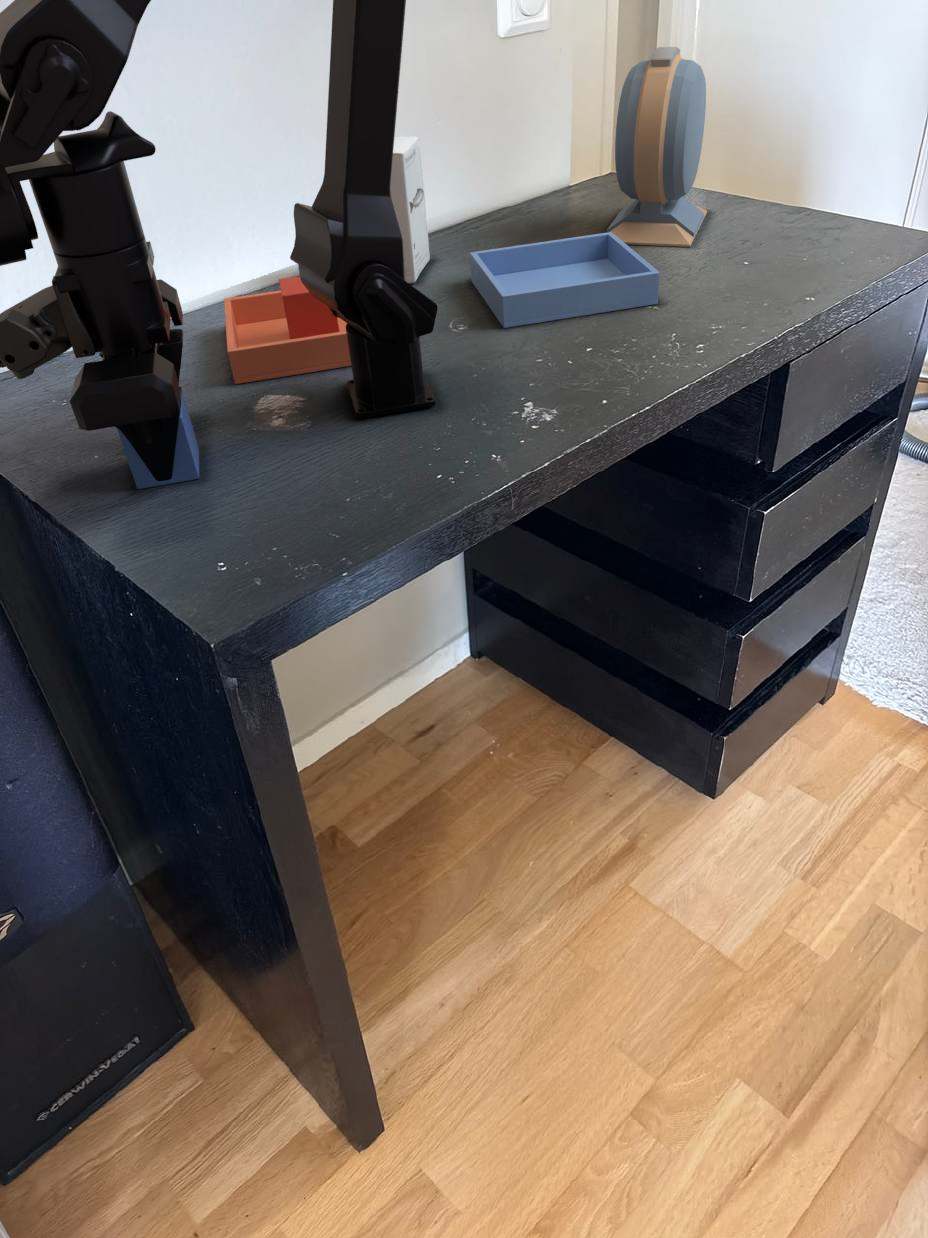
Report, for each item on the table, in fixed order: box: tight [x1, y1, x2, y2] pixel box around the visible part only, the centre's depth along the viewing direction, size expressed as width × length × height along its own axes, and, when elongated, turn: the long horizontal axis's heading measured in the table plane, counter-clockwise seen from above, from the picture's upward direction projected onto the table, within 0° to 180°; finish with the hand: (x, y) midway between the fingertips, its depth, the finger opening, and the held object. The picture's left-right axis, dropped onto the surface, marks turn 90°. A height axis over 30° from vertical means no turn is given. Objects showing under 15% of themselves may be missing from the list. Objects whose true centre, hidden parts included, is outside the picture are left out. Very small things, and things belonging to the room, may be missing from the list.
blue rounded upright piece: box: [605, 46, 708, 248], centre depth 100 cm, size 14×10×18 cm
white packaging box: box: [390, 135, 431, 284], centre depth 96 cm, size 7×7×13 cm
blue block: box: [116, 391, 200, 490], centre depth 68 cm, size 4×4×5 cm
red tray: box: [223, 290, 351, 385], centre depth 86 cm, size 13×15×3 cm
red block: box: [278, 275, 340, 340], centre depth 85 cm, size 4×4×5 cm
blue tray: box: [469, 232, 661, 329], centre depth 91 cm, size 13×15×3 cm
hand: (165, 457), depth 69 cm, fingers open, 6 cm apart
